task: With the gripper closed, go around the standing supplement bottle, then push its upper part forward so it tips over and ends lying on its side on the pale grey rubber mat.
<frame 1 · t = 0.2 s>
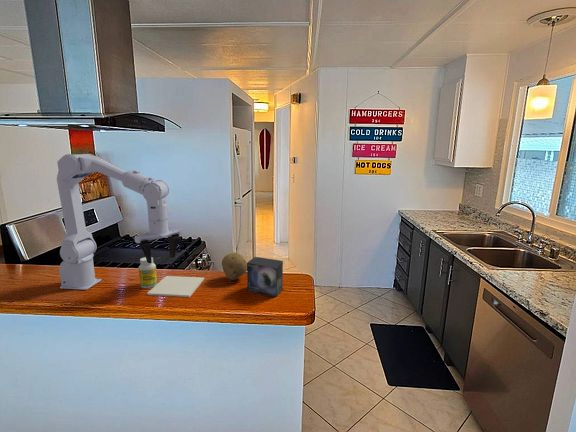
hand: (161, 259, 105), 10 cm above the countertop, tool pointing down, fingers open, 7 cm apart
supplement bottle: (148, 285, 110), on the countertop
small box: (264, 291, 107), on the countertop
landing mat: (177, 286, 109), on the countertop
natural sponge: (235, 280, 115), on the countertop
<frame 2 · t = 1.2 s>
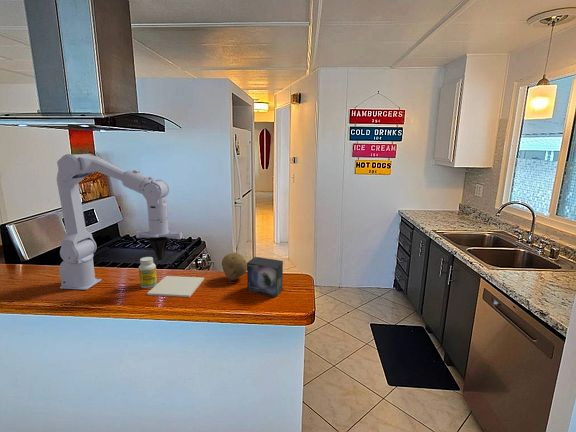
hand: (161, 259, 105), 10 cm above the countertop, tool pointing down, fingers closed
nothing on the countertop moved.
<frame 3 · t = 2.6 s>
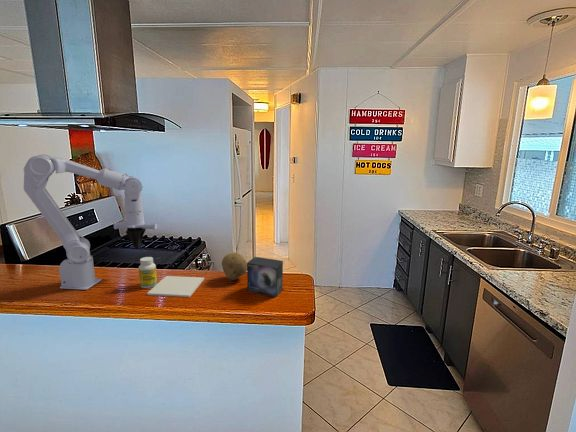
hand: (137, 248, 116), 10 cm above the countertop, tool pointing down, fingers closed
nothing on the countertop moved.
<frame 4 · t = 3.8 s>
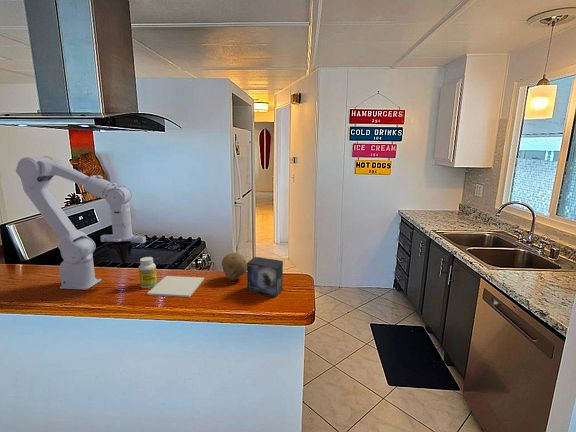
hand: (125, 262, 108), 8 cm above the countertop, tool pointing down, fingers closed
nothing on the countertop moved.
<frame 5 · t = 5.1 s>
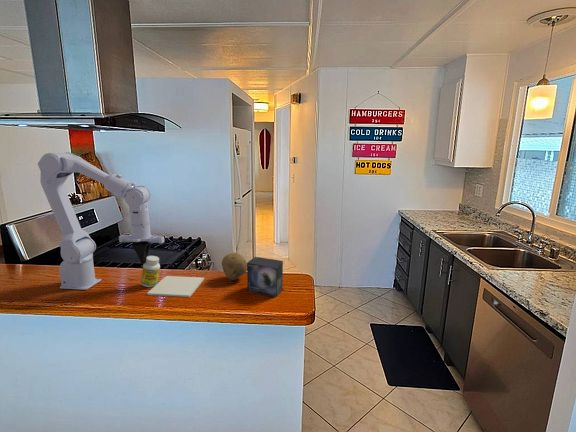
hand: (143, 262, 108), 8 cm above the countertop, tool pointing down, fingers closed, pressing on supplement bottle
supplement bottle: (148, 284, 110), on the countertop, touching gripper
everything else where it was.
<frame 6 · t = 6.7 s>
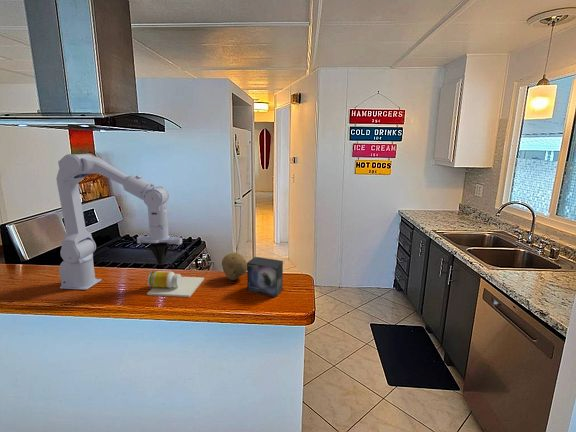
hand: (161, 264, 108), 8 cm above the countertop, tool pointing down, fingers closed
supplement bottle: (150, 279, 107), point 3 cm above the countertop, touching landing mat
everything else where it was.
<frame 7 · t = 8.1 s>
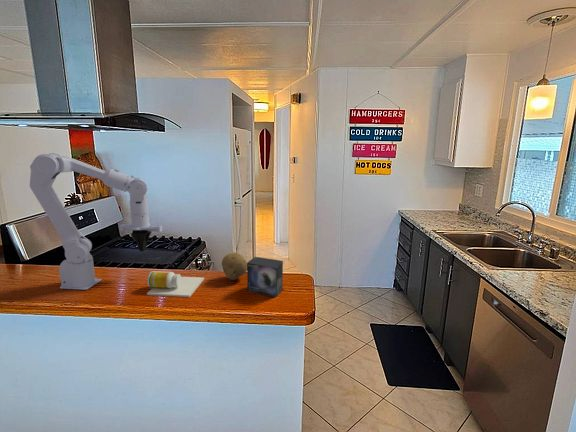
hand: (142, 250, 115), 10 cm above the countertop, tool pointing down, fingers closed
nothing on the countertop moved.
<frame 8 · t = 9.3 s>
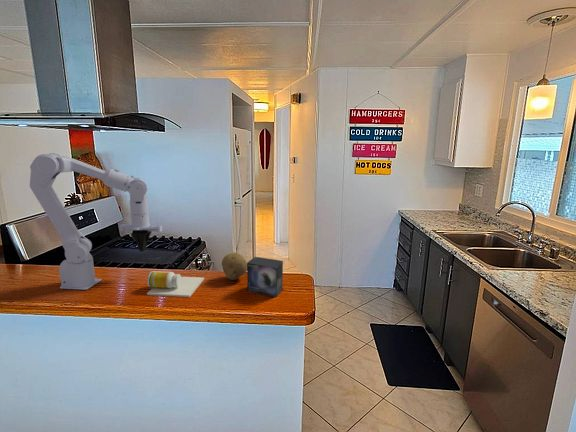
hand: (142, 250, 115), 10 cm above the countertop, tool pointing down, fingers closed
nothing on the countertop moved.
at the end: supplement bottle tilted 90°; supplement bottle touching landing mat; supplement bottle inside the target area (6.5 cm from its centre), point 3.2 cm above the countertop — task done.
